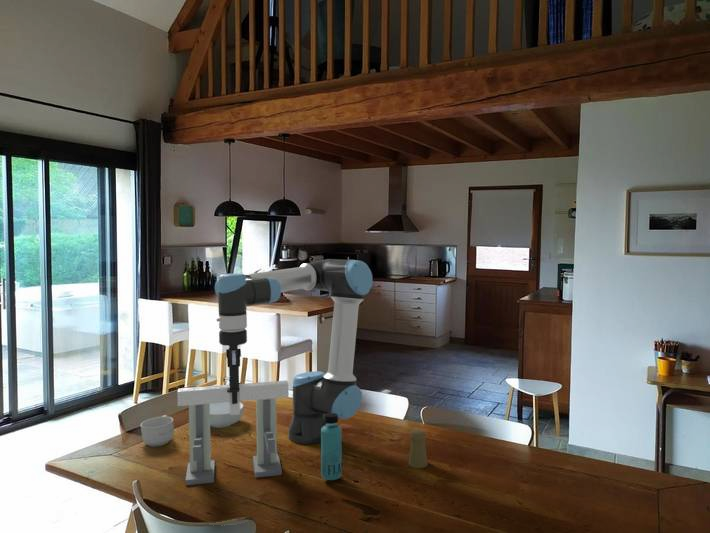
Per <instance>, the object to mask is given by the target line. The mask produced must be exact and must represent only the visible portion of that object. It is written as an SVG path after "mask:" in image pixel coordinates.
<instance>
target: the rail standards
mask: <svg viewBox="0 0 710 533" xmlns="http://www.w3.org/2000/svg"><path fill="white" fill-rule="evenodd" d="M255 401H256V404H255V406H256V407H255V408H256V455H253V456H252V462H253V470H254V477H255V478H254V479H256V478H265V477H275V476H281V475H283V469H282V465H281V461H280V457H279V454H278V450H277V448H278V444H277V442H278V440H277V437H278V436H277V432H278V431H277V430H278V429H277V398H272V399H260V400H255ZM188 425H189V426H188V429H189V430H188V432H189V434H188V435H189V439H188V440H189V462H187V468H186V474H185V486H193V485H201V484H212V483H213V484H214V482H215V468H216V466H215V460H214V459H212V456H211V453H212V451H211V449H212V448H211V426H210V404H199V405H188ZM211 459H212V460H211Z"/></svg>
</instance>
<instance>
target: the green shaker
mask: <svg viewBox="0 0 710 533" xmlns="http://www.w3.org/2000/svg"><path fill="white" fill-rule="evenodd" d="M409 438H410V440H411V442H410V449H409V450H410V451H409V458H408V465H409V466H410V467H411V468H415V469H424V468H426V467H427V466H428V458H427V449H426V442H425V441H426V439H427V433H426V431H425V429H422V428H413V429H412V430H411V431H410V433H409Z"/></svg>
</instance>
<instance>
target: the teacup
mask: <svg viewBox="0 0 710 533" xmlns="http://www.w3.org/2000/svg"><path fill="white" fill-rule="evenodd" d="M139 426H140V431H141V438H142V442H144V444H145V445H147V446H149V447H152V448H157V447H162V446H165V445H166V444H168V443H169V442H170V441H172V439H173V437H174V434H175V433H174V431H175V429H174V418H173V417H172V416H168V415H166V414H164V415H162V416H156V417H152V418H148V419H146V420H144V421H142V422H141V423H140V425H139Z"/></svg>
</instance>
